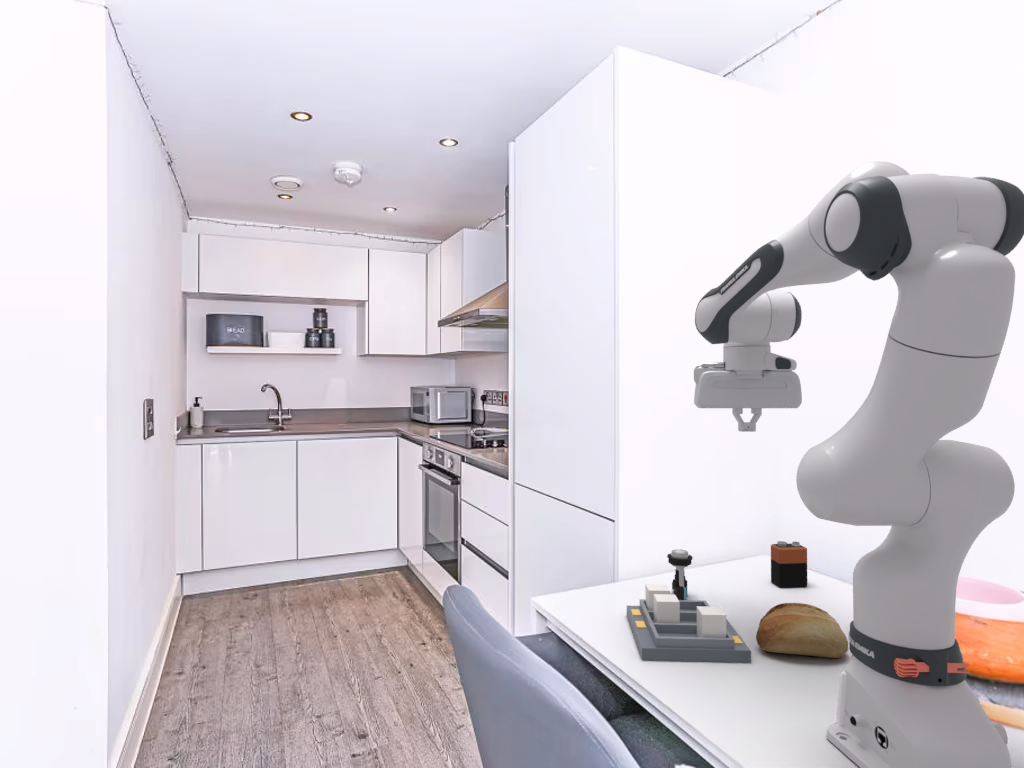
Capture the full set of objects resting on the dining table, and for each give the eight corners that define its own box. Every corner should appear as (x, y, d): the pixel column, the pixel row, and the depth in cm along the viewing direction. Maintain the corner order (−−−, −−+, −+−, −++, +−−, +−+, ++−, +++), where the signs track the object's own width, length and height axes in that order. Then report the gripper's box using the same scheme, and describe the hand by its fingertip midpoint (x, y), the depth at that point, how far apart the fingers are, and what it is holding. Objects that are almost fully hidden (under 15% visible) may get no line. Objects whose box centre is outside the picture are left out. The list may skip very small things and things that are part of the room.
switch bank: (751, 662, 101) (750, 641, 101) (641, 660, 102) (641, 639, 102) (717, 617, 121) (717, 599, 121) (626, 615, 122) (626, 598, 122)
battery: (770, 582, 142) (769, 540, 142) (797, 581, 143) (797, 539, 143) (780, 588, 138) (779, 544, 138) (808, 587, 138) (808, 543, 138)
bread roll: (747, 639, 110) (747, 595, 110) (833, 642, 109) (832, 598, 109) (765, 663, 101) (765, 615, 101) (859, 667, 99) (858, 618, 99)
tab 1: (670, 617, 115) (670, 590, 115) (648, 616, 116) (648, 590, 116) (666, 609, 119) (665, 584, 119) (645, 609, 120) (645, 583, 120)
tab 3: (726, 644, 103) (726, 615, 103) (702, 644, 103) (702, 614, 103) (719, 635, 107) (719, 606, 107) (696, 634, 107) (696, 606, 107)
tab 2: (679, 629, 109) (679, 602, 109) (657, 629, 110) (657, 601, 110) (675, 621, 113) (675, 594, 113) (653, 620, 114) (653, 594, 114)
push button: (663, 591, 136) (663, 546, 136) (687, 591, 136) (687, 546, 136) (670, 601, 130) (670, 554, 130) (695, 601, 129) (695, 555, 130)
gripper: (697, 361, 118) (697, 432, 118) (805, 361, 117) (805, 432, 117) (690, 363, 124) (690, 430, 124) (792, 362, 123) (792, 430, 123)
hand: (747, 431), depth 121 cm, fingers closed
